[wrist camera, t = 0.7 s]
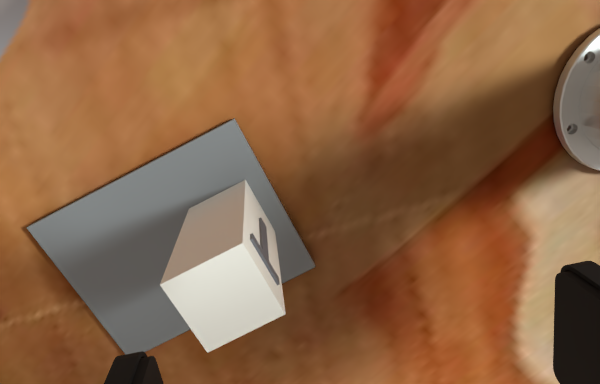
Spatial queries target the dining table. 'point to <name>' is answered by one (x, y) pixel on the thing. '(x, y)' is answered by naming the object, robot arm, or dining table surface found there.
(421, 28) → the dining table surface
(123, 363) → the robot arm
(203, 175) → the mat
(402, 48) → the dining table surface
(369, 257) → the dining table surface
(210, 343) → the letter block
